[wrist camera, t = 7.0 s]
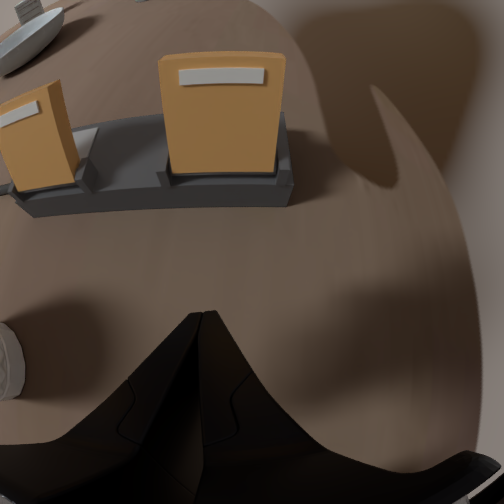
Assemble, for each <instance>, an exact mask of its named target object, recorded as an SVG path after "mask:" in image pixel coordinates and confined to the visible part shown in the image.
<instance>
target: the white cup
mask: <svg viewBox="0 0 504 504" xmlns="http://www.w3.org/2000/svg"><path fill="white" fill-rule="evenodd" d="M24 383H25V361H24V357H23V352H22V347H21V345H20V343H19V341H18V339H17V337H16V335H15V333H14V332H13V331H12V330H11V329H10V328H9V327H8V326H7V325H5V324H4V323H1V322H0V401H6V400H11V399H13V398H15V397H16V396H18V395H20V393H21V390H22V388H23V385H24Z"/></svg>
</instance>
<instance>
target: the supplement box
mask: <svg viewBox="0 0 504 504" xmlns="http://www.w3.org/2000/svg"><path fill="white" fill-rule="evenodd" d="M15 10H16V13H17V16H18V18H19V21H20V23H21V26H23V25H25V24H26V23H28V22H29V21H31V20H33V19H34V18H36V17H38V16H40V15H42V14H44V10H43V7H42V4H41V2H40V0H23V1H21V2H20V3H18V4H17V5H16V6H15Z"/></svg>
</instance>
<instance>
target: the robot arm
mask: <svg viewBox="0 0 504 504" xmlns="http://www.w3.org/2000/svg"><path fill="white" fill-rule="evenodd" d="M500 468H501V465H500V464H499V463H498V462H497V461H496V460H494V459H492V458H490V457H488V456H486V455H483V454H479V453H475V452H472V451H468V450H465V451H462V452H460V453H458V454H456V455H454V456H452V457H450V458H448V459H447V460H445V461H443V462H441V463H439V464H438V465H436V466H434V467H432V468H429V469H427V470H424V471H421V472H415V473H397V472H392V471H388V470H385V469H381V468H378V467H375V466H371V465H368V464H365V463H362V462H359V461H357V460H354V459H351V458H348V457H345V456H343V455H340V454H337V453H335V452H333V451H330V450H328V449H327V448H325V447H324V446H322V445H321V444H319V443H318V442H317V441H316V440H314V439H313V438H312V437H311V436H310V435H309V434H308V433H307V432H306V431H305V430H304V429H303V428H302V427H300V426H299V425H298V424H297V423H296V422H295V421H294V420H293V419H292V418H291V417H290V416H289V415H288V414H287V413H286V412H285V411H284V410H283V409H282V408H281V406H280V405H279V404H278V403H277V402H276V401H275V400H274V399H273V397H272V396H271V395H270V394H269V393H268V391H267V390H266V389H265V387H264V386H263V384H262V383H261V382H260V380H259V379H258V377H257V376H256V374H255V373H254V371H253V370H252V368H251V366H250V365H249V363H248V362H247V360H246V358H245V357H244V355H243V354H242V352H241V350H240V349H239V347H238V346H237V344H236V342H235V341H234V339H233V337H232V336H231V334H230V332H229V331H228V329H227V327H226V326H225V324H224V322H223V320H222V319H221V317H220V315H219V314H218V312H217V311H216V310H213V311H205V312H204V313H203V312H195V313H190V314H188V316H187V317H186V318H185V319H184V320H183V321H182V322H181V323H180V324H179V325H178V326H177V327H176V328H175V329H174V330H173V331H172V332H171V333H170V334H169V335H168V336H167V337H166V338H165V339H164V340H163V342H162V343H161V344H160V345H159V346H158V347H157V348H156V349H155V350H154V351H153V352H152V353H151V354H150V355H149V356H148V357H147V358H146V359H145V360H144V361H143V362H142V363H141V364H140V366H139V367H138V368H137V369H136V370H135V371H134V372H133V373H132V374H131V375H130V376H129V377H128V380H125V381H124V382H123V383H122V384H121V385H120V386H119V387H118V388H117V389H116V390H115V391H114V392H113V393H112V394H111V395H110V396H109V397H108V398H107V399H106V400H105V401H104V402H103V403H102V404H100V405H99V406H98V407H97V408H96V409H95V410H94V411H92V412H91V413H90V414H89V415H88V416H86V417H85V418H84V419H83V420H82V421H81V422H79V423H78V424H77V425H76V426H75V427H73V428H72V429H71V430H70V431H69V432H67V433H66V434H65V435H63V436H62V437H60V438H58V439H56V440H53V441H50V442H46V443H36V444H19V445H0V504H504V473H503V474H502V475H501V476H499V477H498V478H497V479H496V480H495V481H493V482H492V483H491V484H490V485H488V486H487V487H486V488H484V489H483V490H482V491H481V492H479V493H478V494H476V495H475V496H474V497H472V498H471V499H468V497H467V494H468V493H470V492H471V491H473V490H474V489H476V488H477V487H478V486H480V485H481V484H482V483H484V482H485V481H486V480H487V479H489V478H490V477H491V476H492V475H493V474H495V473H496V472H497V471H498V470H499V469H500Z"/></svg>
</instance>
